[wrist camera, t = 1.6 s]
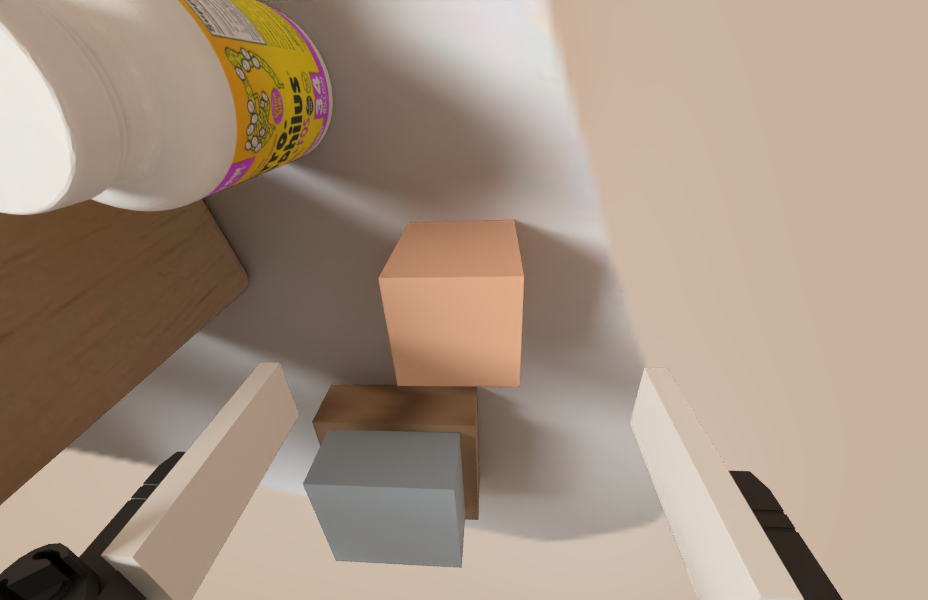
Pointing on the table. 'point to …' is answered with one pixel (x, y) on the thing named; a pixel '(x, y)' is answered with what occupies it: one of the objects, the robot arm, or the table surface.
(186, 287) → the block
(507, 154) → the table surface
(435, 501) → the block
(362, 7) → the table surface
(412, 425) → the tower base
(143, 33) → the supplement bottle
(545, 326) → the table surface
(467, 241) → the stack block
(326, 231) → the table surface
